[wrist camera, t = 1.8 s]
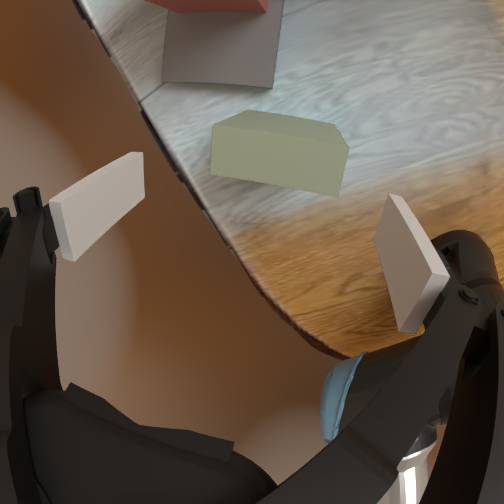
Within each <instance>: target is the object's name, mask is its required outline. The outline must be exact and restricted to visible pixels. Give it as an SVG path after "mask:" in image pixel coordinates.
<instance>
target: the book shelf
mask: <svg viewBox="0 0 504 504" xmlns="http://www.w3.org/2000/svg"><path fill="white" fill-rule="evenodd" d="M146 1H149V2H151V3H154V4H157V5H159V6H162V7H165V8H167V9H169V10H168V17H167V25H166V34H165V43H164V53H163V65H162V79H161V82H202V83H223V84H237V85H248V86H258V87H266V88H273V82H274V74H275V67H276V59H277V51H278V44H279V36H280V28H281V21H282V13H283V5H284V0H146Z"/></svg>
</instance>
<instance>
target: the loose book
mask: <svg viewBox="0 0 504 504" xmlns="http://www.w3.org/2000/svg"><path fill="white" fill-rule="evenodd" d="M348 151H349V146H348V145H347V143H346V142H345V140H344V138H343V137H342V135H341V134H340V132H339V130H338V129H337V127H336V126H335V124H330V123H325V122H321V121H316V120H311V119H305V118H300V117H294V116H288V115H282V114H275V113H269V112H261V111H253V110H247V111H244V112H242V113H239V114H237V115H235V116H232V117H230V118H228V119H225V120H223V121H221V122H219V123H216V124H214V125H213V129H212V143H211V158H210V175H216V176H223V177H229V178H236V179H242V180H248V181H254V182H260V183H266V184H272V185H277V186H283V187H288V188H293V189H299V190H304V191H309V192H314V193H318V194H323V195H328V196H332V197H337V198H338V194H339V190H340V186H341V182H342V178H343V173H344V169H345V165H346V160H347V156H348Z"/></svg>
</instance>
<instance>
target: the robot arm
mask: <svg viewBox="0 0 504 504" xmlns="http://www.w3.org/2000/svg"><path fill="white" fill-rule="evenodd" d="M144 198H145V191H144V171H143V153H142V152H130V153H128V154H126V155H125V156H122V157H121V158H119V159H117V160H115V161H113V162H111V163H109V164H108V165H106V166H104V167H102V168H100V169H99V170H97V171H95V172H94V173H92V174H90V175H88V176H87V177H85V178H83V179H82V180H80V181H79V182H77V183H75V184H74V185H72V186H70V187H69V188H67V189H66V190H64V191H62V192H61V193H59V194H58V195H57V196H55V197H53V198H52V199H50V200H49V201H48V202H49V203H48V204H47V205H46V206H44V207H43V206H42V201H41V196H40V191H39V188H38V187H29V188H26V189H23V190H21V191H19V192H17V193H16V194H15V195H14V196H13V200H14V204H15V208H16V212H17V216H16V217H11V215H10V212H9V208H7V207H3V208H0V504H504V289H503V288H502V286H501V284H500V283H499V278H498V274H497V270H496V266H495V263H494V257H493V254H492V252H491V250H490V248H489V247H488V246H487V244H486V243H485V242H484V241H483V239H482V238H481V237H480V236H478V235H477V234H475V233H473V232H470V231H465V230H457V231H451V232H448V233H445V234H443V235H441V236H439V237H437V238H435V239H434V240H432V241H431V242H430V240H429V238H428V237H427V235H426V233H425V232H424V230H423V228H422V227H421V225H420V224H419V222H418V220H417V219H416V217H415V216H414V214H413V213H412V211H411V210H410V208H409V207H408V205H407V204H406V202H405V201H404V199H403V198H402V197H400V196H397V195H393V194H388V197H387V200H386V203H385V206H384V210H383V213H382V216H381V219H380V222H379V225H378V227H377V230H376V233H375V236H374V239H373V240H374V243H375V246H376V249H377V252H378V255H379V259H380V262H381V265H382V269H383V272H384V276H385V279H386V283H387V286H388V290H389V294H390V298H391V302H392V306H393V310H394V314H395V318H396V322H397V327H398V331H399V332H405V333H413V334H416V332H417V331H418V329H419V328H420V326H421V325H422V323H423V324H424V327H425V332H424V333H423V334H422V335H419V336H417V337H414V338H411V339H409V340H406V341H403V342H400V343H397V344H394V345H391V346H388V347H385V348H382V349H379V350H376V351H373V352H370V353H368V352H363V353H361V354H360V355H359V356H356V357H353V358H350V359H347V360H344V361H341V362H339V363H337V364H336V365H334V366H333V368H332V369H331V370H330V371H329V373H328V375H327V377H326V380H325V383H324V386H323V391H322V396H321V406H320V424H321V432H322V436H323V438H324V439H325V444H326V447H325V448H323V449H322V450H321V451H320V452H319V453H318V454H317V455H315V456H314V458H312V459H311V460H310V461H309V462H307V463H306V464H305V465H304V466H303V467H301V468H300V469H299V470H298V471H296V472H295V473H294V474H292V475H291V476H290V477H289V478H287V479H286V480H285V481H284V482H282V483H281V484H279V485H278V486H277V484H276V483H275V482H274V481H273V480H272V478H271V477H270V476H269V475H268V474H267V473H266V472H265V471H264V470H263V469H262V468H261V467H259V466H258V465H257V464H255V463H254V462H253V461H251V460H250V459H248V458H246V457H245V456H243V455H241V454H239V453H237V452H235V451H233V446H234V442H233V441H228V440H224V439H219V438H215V437H211V436H208V435H204V434H200V433H197V432H193V431H190V430H181V429H169V428H159V427H149V426H143V425H139V424H137V423H135V422H133V421H132V420H131V419H129V418H128V417H126V416H125V415H124V414H123V413H121V412H120V411H119V410H117V409H116V408H115V407H113V406H112V405H111V404H110V403H108V402H107V401H106V400H105V399H103V398H102V397H99V396H97V395H95V394H93V393H91V392H89V391H87V390H85V389H83V388H81V387H79V386H77V385H75V384H73V383H70V384H69V386H68V387H67V389H66V391H63V389H62V386H61V383H60V376H59V368H58V358H57V346H56V330H55V276H56V255H55V252H54V251H55V250H56V249H57V248H58V247H60V251H61V254H62V257H63V258H64V259H67V260H71V261H74V262H75V261H76V260H77V259H78V258H79V257H80V256H81V255H82V254H83V253H84V252H85V251H86V250H87V249H88V248H89V247H90V246H91V245H92V244H93V243H94V242H95V241H96V240H97V239H98V238H100V237H101V236H102V235H103V234H104V233H105V232H106V231H107V230H108V229H109V228H110V227H111V226H113V224H115V223H116V222H117V221H118V220H119V219H120V218H121V217H123V215H125V214H126V213H127V212H128V211H130V210H131V209H132V208H133V207H134V206H135V205H136V204H138V202H140V201H141V200H142V199H144ZM445 423H447V426H446V429H445V433H444V437H443V440H442V443H441V446H440V450H439V453H438V456H437V459H436V462H435V465H434V467H433V470H432V473H431V476H430V478H429V481H428V475H427V459H426V457H427V455H428V453H429V452H430V451H431V449H432V448H433V447H434V445H435V444H436V443H437V433H436V427H438V426H440V425H443V424H445Z"/></svg>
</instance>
